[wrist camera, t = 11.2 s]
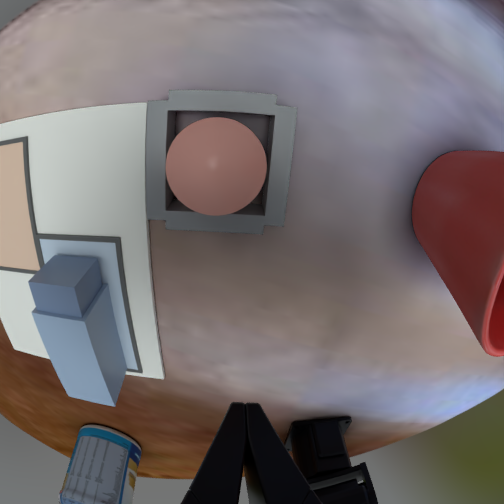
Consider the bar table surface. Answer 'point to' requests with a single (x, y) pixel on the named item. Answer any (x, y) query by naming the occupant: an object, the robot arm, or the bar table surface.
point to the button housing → (277, 160)
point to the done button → (216, 166)
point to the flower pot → (467, 236)
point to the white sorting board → (79, 219)
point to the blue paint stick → (79, 328)
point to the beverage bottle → (101, 468)
